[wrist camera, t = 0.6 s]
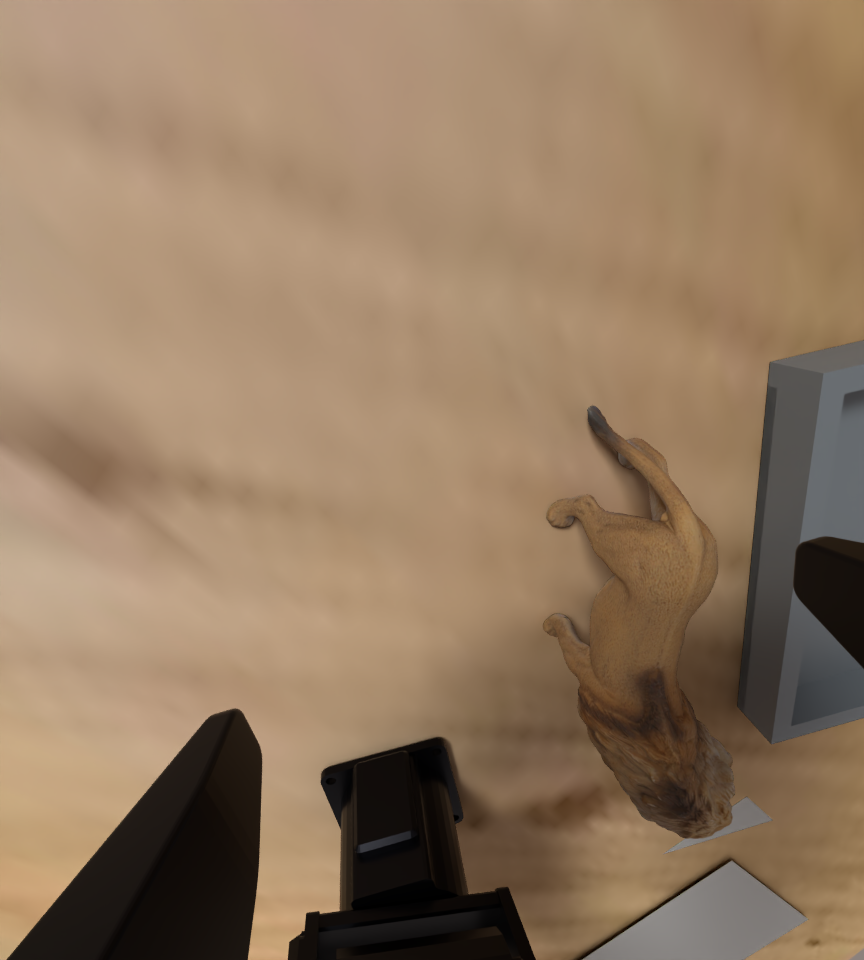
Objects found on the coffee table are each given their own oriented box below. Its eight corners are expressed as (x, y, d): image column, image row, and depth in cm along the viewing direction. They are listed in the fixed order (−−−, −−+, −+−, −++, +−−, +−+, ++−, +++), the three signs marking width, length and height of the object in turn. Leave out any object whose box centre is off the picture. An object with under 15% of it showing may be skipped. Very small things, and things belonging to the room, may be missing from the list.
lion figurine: (641, 661, 26) (777, 842, 18) (544, 686, 25) (636, 883, 17) (643, 389, 20) (849, 471, 12) (516, 416, 19) (636, 521, 11)
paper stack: (464, 935, 34) (466, 948, 33) (767, 720, 30) (776, 730, 29) (639, 1010, 43) (643, 1022, 42) (890, 853, 39) (899, 863, 38)
